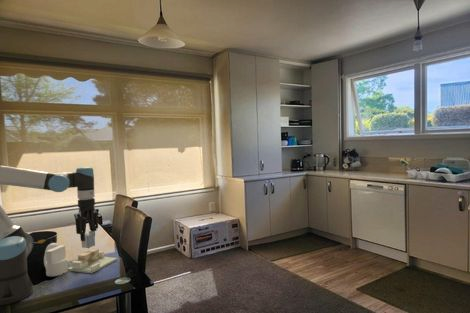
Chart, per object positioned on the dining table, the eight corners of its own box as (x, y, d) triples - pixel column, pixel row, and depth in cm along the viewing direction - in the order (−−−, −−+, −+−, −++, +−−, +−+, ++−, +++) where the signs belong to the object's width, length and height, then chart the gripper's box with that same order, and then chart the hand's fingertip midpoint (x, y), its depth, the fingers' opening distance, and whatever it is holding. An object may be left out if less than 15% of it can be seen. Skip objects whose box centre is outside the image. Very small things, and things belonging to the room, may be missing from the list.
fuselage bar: (84, 265, 151) (84, 255, 151) (78, 265, 152) (78, 255, 152) (99, 258, 161) (98, 249, 161) (93, 257, 162) (92, 248, 162)
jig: (91, 273, 144) (91, 265, 144) (67, 270, 149) (67, 262, 149) (117, 259, 161) (116, 252, 161) (95, 257, 166) (94, 250, 166)
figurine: (53, 268, 152) (52, 245, 151) (40, 268, 153) (39, 245, 153) (64, 263, 159) (62, 241, 158) (51, 263, 160) (50, 240, 160)
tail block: (88, 247, 145) (88, 235, 145) (82, 247, 146) (81, 235, 146) (95, 245, 149) (94, 233, 149) (88, 244, 150) (88, 233, 150)
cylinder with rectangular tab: (57, 276, 142) (55, 251, 141) (41, 275, 144) (40, 251, 143) (71, 269, 150) (70, 245, 150) (56, 268, 152) (55, 244, 152)
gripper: (78, 201, 138) (80, 251, 138) (105, 195, 154) (106, 240, 155) (65, 201, 140) (67, 250, 141) (93, 195, 156) (95, 239, 157)
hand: (88, 245), depth 148 cm, fingers closed on tail block, 4 cm apart
